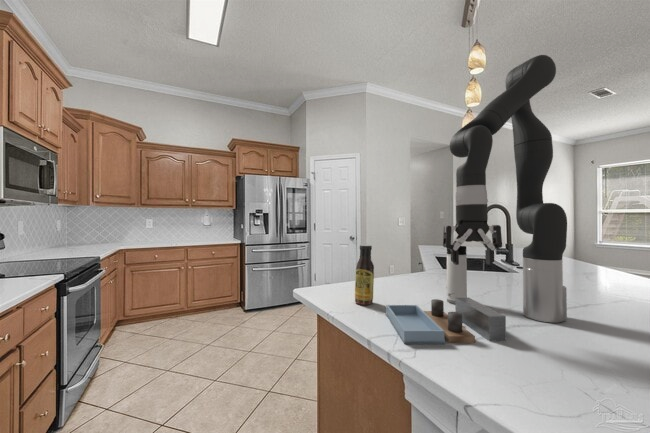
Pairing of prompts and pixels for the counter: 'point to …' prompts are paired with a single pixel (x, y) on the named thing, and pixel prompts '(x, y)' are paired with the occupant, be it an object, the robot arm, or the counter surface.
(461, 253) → the travel mug
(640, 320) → the counter surface
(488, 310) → the steel bar
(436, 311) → the peg rack
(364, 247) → the sauce bottle
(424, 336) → the slot tray
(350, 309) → the counter surface
